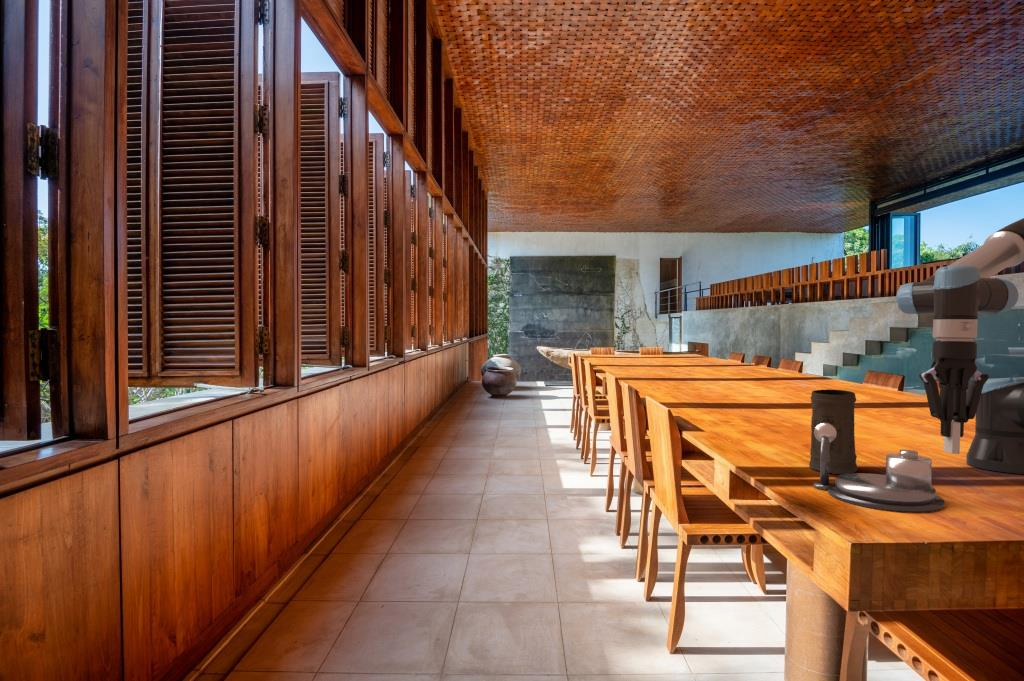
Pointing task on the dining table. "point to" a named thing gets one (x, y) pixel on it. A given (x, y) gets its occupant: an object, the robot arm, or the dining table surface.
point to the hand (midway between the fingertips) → (951, 452)
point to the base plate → (924, 508)
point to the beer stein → (840, 414)
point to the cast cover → (908, 470)
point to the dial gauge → (824, 453)
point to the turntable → (882, 490)
